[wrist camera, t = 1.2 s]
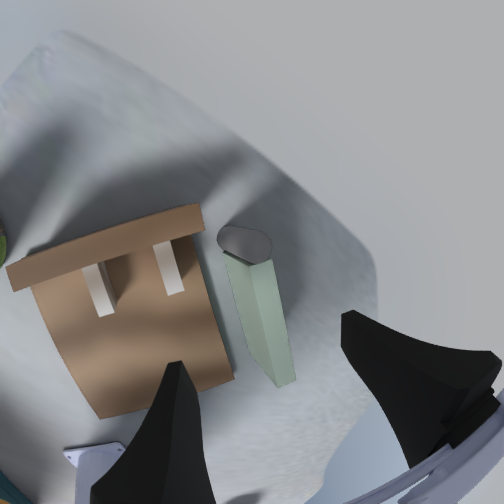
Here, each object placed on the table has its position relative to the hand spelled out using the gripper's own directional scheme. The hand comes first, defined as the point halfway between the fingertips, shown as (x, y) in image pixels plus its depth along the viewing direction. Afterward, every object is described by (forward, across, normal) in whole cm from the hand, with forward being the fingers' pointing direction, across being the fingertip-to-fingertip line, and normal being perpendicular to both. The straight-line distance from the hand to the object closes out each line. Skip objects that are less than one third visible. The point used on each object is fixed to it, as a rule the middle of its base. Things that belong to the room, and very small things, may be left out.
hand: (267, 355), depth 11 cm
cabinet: (+10, +9, +3) cm, 14 cm away
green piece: (+12, 0, +5) cm, 13 cm away
